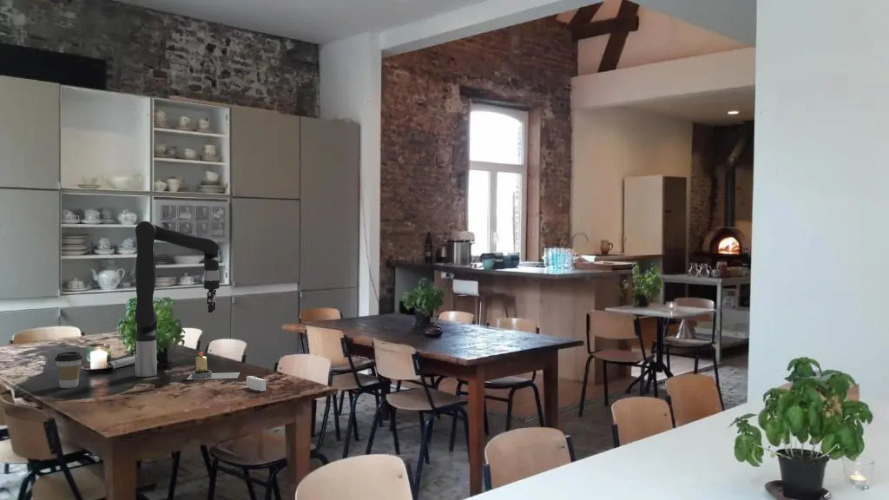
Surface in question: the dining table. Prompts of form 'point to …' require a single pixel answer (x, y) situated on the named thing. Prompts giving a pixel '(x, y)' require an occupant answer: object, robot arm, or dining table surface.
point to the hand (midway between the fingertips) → (211, 311)
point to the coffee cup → (68, 368)
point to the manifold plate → (212, 375)
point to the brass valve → (201, 363)
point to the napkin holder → (256, 383)
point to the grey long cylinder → (122, 362)
